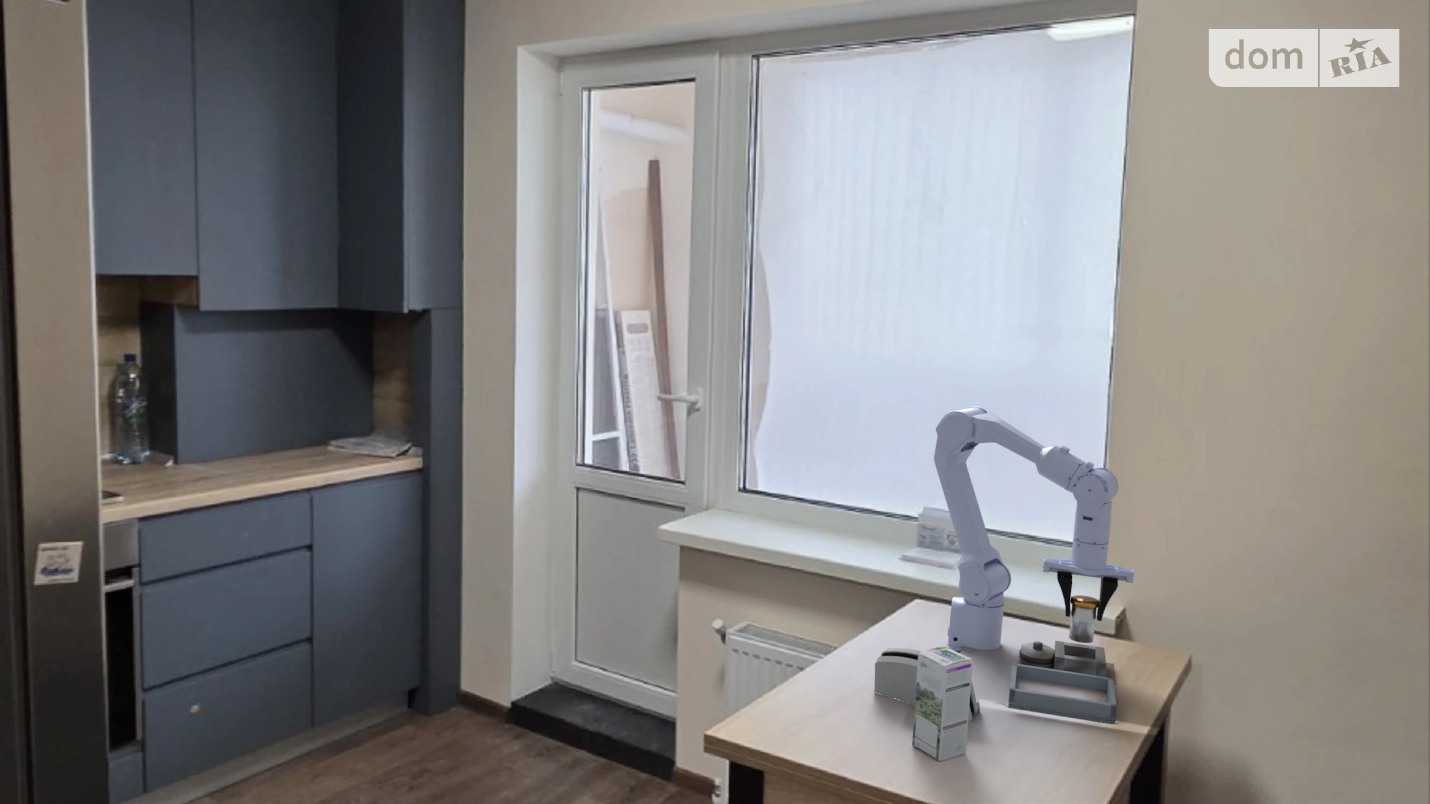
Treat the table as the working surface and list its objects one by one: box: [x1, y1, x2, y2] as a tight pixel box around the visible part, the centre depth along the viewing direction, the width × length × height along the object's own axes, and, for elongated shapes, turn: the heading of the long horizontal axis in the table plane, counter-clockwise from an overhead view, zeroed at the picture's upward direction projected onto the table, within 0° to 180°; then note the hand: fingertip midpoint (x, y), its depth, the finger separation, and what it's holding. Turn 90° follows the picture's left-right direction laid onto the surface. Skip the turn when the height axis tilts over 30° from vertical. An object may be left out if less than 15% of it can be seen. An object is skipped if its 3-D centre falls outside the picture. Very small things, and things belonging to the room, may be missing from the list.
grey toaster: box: [874, 647, 981, 723], centre depth 171 cm, size 17×5×10 cm, turn 53°
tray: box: [1007, 662, 1118, 725], centre depth 175 cm, size 16×12×3 cm
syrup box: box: [911, 646, 974, 762], centre depth 155 cm, size 6×6×14 cm
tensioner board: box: [1017, 640, 1118, 686], centre depth 188 cm, size 16×10×4 cm, turn 73°
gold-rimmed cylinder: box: [1068, 594, 1099, 644], centre depth 186 cm, size 5×5×7 cm
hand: (1083, 617), depth 186 cm, fingers closed on gold-rimmed cylinder, 4 cm apart
